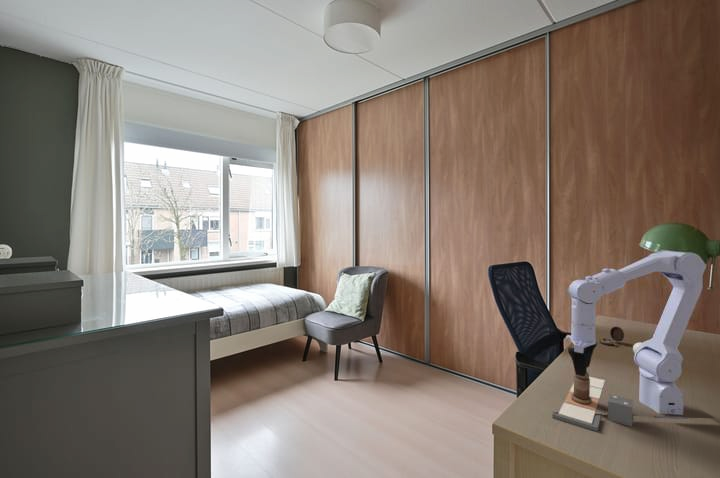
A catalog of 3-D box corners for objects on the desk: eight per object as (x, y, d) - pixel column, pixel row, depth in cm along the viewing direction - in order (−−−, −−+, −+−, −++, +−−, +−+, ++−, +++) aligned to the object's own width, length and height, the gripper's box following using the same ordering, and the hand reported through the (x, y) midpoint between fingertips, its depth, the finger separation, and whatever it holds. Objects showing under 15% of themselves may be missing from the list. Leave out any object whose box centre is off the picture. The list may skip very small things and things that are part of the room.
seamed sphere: (652, 357, 135) (652, 342, 135) (649, 361, 131) (650, 346, 131) (627, 351, 141) (628, 338, 140) (624, 355, 137) (625, 341, 137)
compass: (596, 341, 153) (596, 325, 153) (612, 340, 154) (612, 324, 154) (611, 348, 145) (611, 330, 145) (628, 347, 146) (629, 329, 146)
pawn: (595, 405, 97) (595, 373, 97) (576, 404, 98) (577, 372, 97) (585, 396, 102) (586, 366, 102) (568, 395, 102) (568, 365, 102)
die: (631, 426, 89) (632, 407, 89) (607, 419, 92) (608, 400, 92) (632, 418, 93) (633, 399, 93) (609, 412, 96) (610, 393, 96)
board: (597, 431, 87) (597, 426, 87) (552, 417, 94) (552, 412, 93) (610, 384, 112) (610, 380, 112) (573, 376, 119) (573, 372, 119)
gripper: (571, 315, 107) (570, 359, 108) (561, 326, 96) (561, 375, 96) (599, 319, 102) (598, 365, 103) (592, 331, 91) (591, 382, 92)
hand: (582, 370), depth 99 cm, fingers open, 7 cm apart
